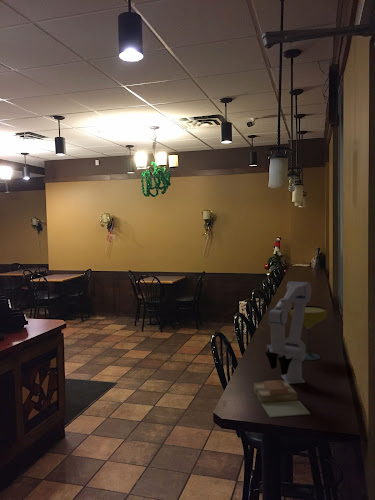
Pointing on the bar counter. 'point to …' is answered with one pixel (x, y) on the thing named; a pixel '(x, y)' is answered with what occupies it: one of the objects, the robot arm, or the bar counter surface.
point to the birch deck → (274, 398)
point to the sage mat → (285, 409)
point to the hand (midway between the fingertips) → (278, 371)
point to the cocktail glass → (311, 318)
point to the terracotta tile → (275, 387)
